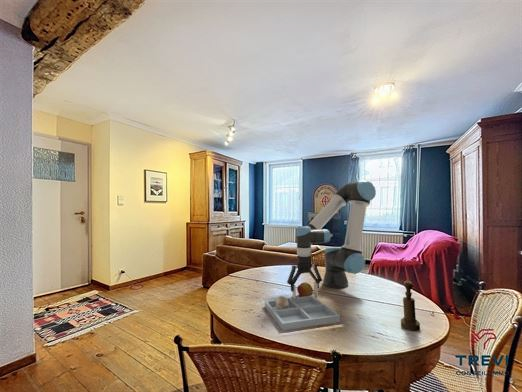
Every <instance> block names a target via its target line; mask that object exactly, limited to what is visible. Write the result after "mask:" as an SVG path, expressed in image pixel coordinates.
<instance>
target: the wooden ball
mask: <svg viewBox="0 0 522 392" xmlns="http://www.w3.org/2000/svg"><path fill="white" fill-rule="evenodd" d="M287 299H288V298H287V297H286V296H282V295H281V296H279V297H277V298H276V299H275V300H276V307H277V308H278V309H279V310H282V309H287V308H288V305H289V302H288V300H287Z"/></svg>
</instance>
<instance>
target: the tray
mask: <svg viewBox="0 0 522 392" xmlns="http://www.w3.org/2000/svg"><path fill="white" fill-rule="evenodd" d="M276 300H277V299H272V300H265V301H264V307H265V309H266V310H267V311H268V313H269V314H270V315H271V316H272V318H273V319H274V321H275V322H276V323H277V325H278V326H279V328H280V329H281V331H289V330H290V331H289V333H292V332H291V331H292V330H294V329H296V330H295V332H298V331H299V332H300V329H301V328H303V329H302V331H304V330H305V329H306V328H308V330H312V329H314V327H315V326H318V327H315V329H318V328H320V326H321V325H324V326H321V328H325V327H327V324H329V325H328V327H330V326H331V327H332V326H333V324H334V323H335V324H334V326H337V325H338V326H339V325H340V322H341V315H340V314H339V313H337V312H336V311H335V310H333V309H332V308H330V307H329V306H328V305H326V304H324V303H323V302H322V301H321V300H320V299H318V298H317V297H315V296H314V295H311V296H305V297H301V296H296V298H294V297H290V298H287V300H288V302H289V305H288V308H287V309H282V310H279V309H278V308H277V307H276ZM336 323H337V324H336ZM309 327H311V328H309ZM297 329H298V330H297Z"/></svg>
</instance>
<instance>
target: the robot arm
mask: <svg viewBox="0 0 522 392" xmlns="http://www.w3.org/2000/svg"><path fill="white" fill-rule="evenodd" d="M376 194H377V190H376V187H375V186H374V184H373V183H372V182H371V181H368V180H359V181H354V182H348V183H345V184H344V185H342V187H340V188H339V189H338V190H337V191H336V192H334V194H333V195H332V198H331V200H330V201H329V202H327V204H326V205H325V206H324V207H323V208H322V209H321V210H320V211H319V212H318V213H317V214H316V216H314V217H313V218H312V220H311V221H310V222H309V223H308V224H307V225H306V226H303V225H301V226H297V227H296V235H295V237H296V254H297V256H296V257H297V258H296V260H297V263H296V265H293V264H292V265H291V271H290V272H289V276H288V278H287V281H286V283H287V284H288V285H290V291H291V292H292V298H296V297H297V294H296V293H297V292H296V290H297V289H296V288H297V287H296V285H295V284H296V282H297V281H298V279H299V278H300V276H302V274H309V276H311V277H312V279H313V294H314V295H315V296H317V297H318V296H319V294H318V293H319V291H318V290H319V289H320V283H321V282H322V284H323V286H325V285H326V286H325V287H328V286H329V287H328V288H333V287H334V289H343V288H342V287H344V288H347V287H348V286H349V281H348V278H347V275H346V273H348V274H353V275H356V274H359V273H360V272H362V271H363V270H364V269H365V265H366V259H365V257H364V256H363V255H362V253H363V250H362V248H361V243H362V238H363V230H364V225H365V224H364V223H365V218H366V211H367V207H369V206H370V205H371V204H370V203H371V201H372V200H374V199H375V197H376ZM348 203H349V204H350V208H349V215H348V221H347V227H346V234H345V239H344V244H343V245H342V246H332V247H326V248H325V249H324V262H325V265H324V266H325V272H324V275H323V277H322V276H321V275H320V272H319V270H318V265H317V263H312V256H311V255H312V244H324V243H325V244H326V243H329V242H330V241H331V238H332V236H331V232H330V230H329V229H327V228H326V229H325V228H323V227H324V226H325V225H326V224H327V223H328V222H329V221H330V220H331V219H332V218H333V217H334V215H335V214H336V213H337V212H338V211H339V210H340V209H341V208H342V207H344V206H346V205H347V204H348ZM312 269H313V271H314V273H315V274H314V273H313V271H312ZM322 278H323V279H322ZM335 287H336V288H335Z"/></svg>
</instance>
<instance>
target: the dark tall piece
mask: <svg viewBox="0 0 522 392" xmlns="http://www.w3.org/2000/svg"><path fill="white" fill-rule="evenodd" d="M403 286H404V288H405V290H406V291H405V297H403V298H402V301H403V317H402V318H401V319H400V327H401V328H402V329H404V330H406V331H409V332H419V331H420V330H421V324H420V321H419V320H418V319H417V318H416V305H415V304H416V300H415V298H413V297H412V295H413V293H412V292H411V290H412V288H413V282H412V281H410V280H405V281H404V282H403Z"/></svg>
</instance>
